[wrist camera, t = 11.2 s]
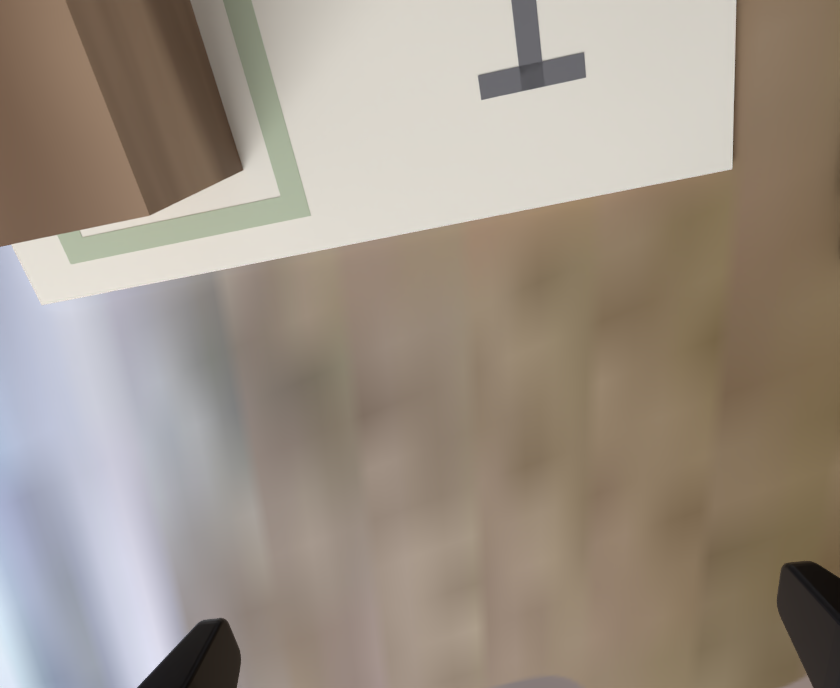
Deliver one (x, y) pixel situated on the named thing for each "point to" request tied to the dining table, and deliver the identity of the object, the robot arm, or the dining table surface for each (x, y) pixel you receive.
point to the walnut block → (104, 114)
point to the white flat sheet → (420, 125)
